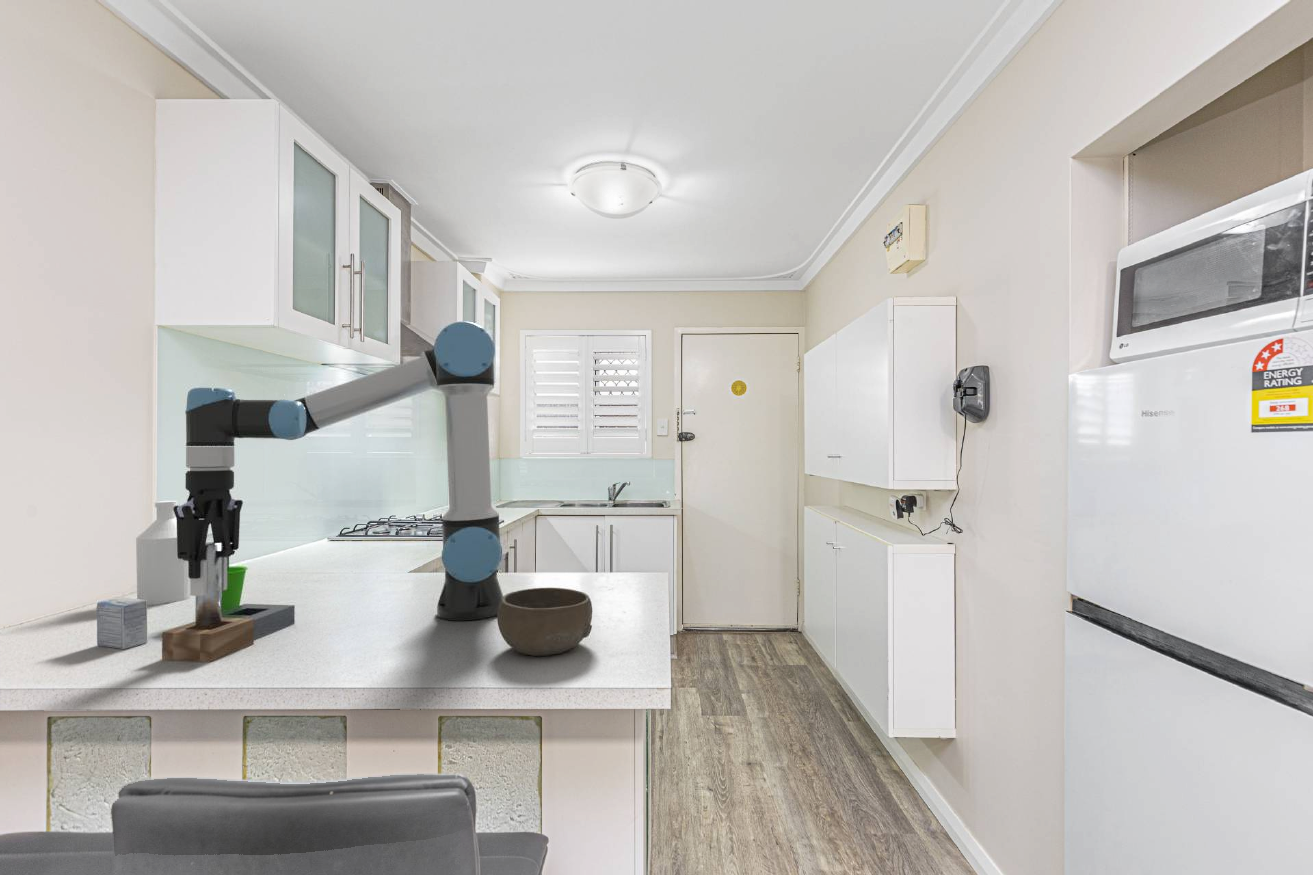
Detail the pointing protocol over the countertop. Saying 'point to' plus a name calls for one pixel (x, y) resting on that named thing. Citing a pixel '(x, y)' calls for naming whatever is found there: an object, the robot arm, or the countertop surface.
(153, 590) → the bottle
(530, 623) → the bowl
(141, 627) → the medicine box
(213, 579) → the key
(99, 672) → the countertop surface
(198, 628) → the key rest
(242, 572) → the cup
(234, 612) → the block
